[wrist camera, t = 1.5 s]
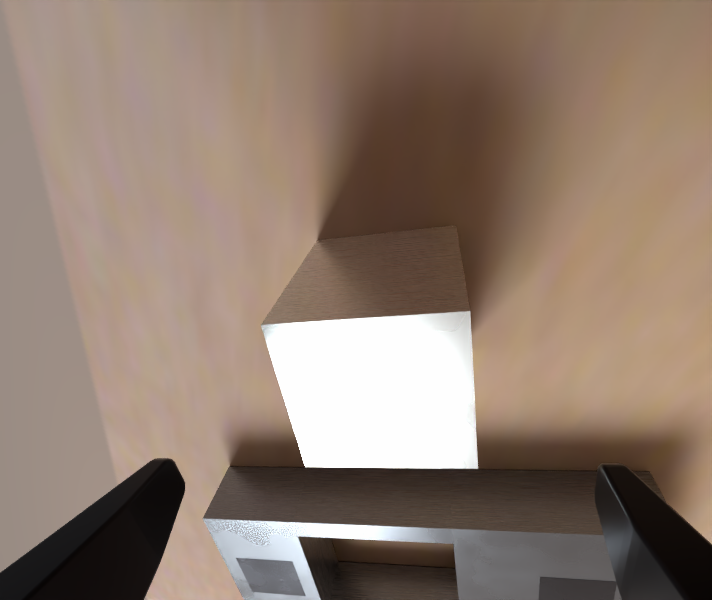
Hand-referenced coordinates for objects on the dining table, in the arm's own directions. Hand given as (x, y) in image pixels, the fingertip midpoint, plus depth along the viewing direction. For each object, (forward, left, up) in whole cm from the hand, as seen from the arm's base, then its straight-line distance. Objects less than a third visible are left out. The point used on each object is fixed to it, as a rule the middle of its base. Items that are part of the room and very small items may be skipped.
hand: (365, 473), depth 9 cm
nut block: (0, 0, -8) cm, 8 cm away
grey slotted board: (0, +14, -8) cm, 16 cm away
